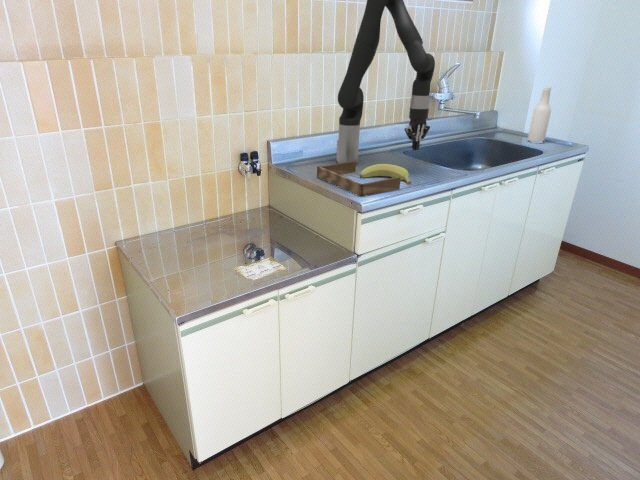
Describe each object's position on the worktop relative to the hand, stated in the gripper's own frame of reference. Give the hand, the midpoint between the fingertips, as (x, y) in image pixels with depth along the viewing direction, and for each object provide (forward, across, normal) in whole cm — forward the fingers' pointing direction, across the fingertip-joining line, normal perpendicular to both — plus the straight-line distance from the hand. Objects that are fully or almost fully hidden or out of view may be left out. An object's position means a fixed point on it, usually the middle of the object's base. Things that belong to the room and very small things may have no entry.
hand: (415, 149), depth 190 cm
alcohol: (+11, -110, -12) cm, 111 cm away
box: (+10, +30, 0) cm, 32 cm away
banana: (+10, +16, +2) cm, 19 cm away
